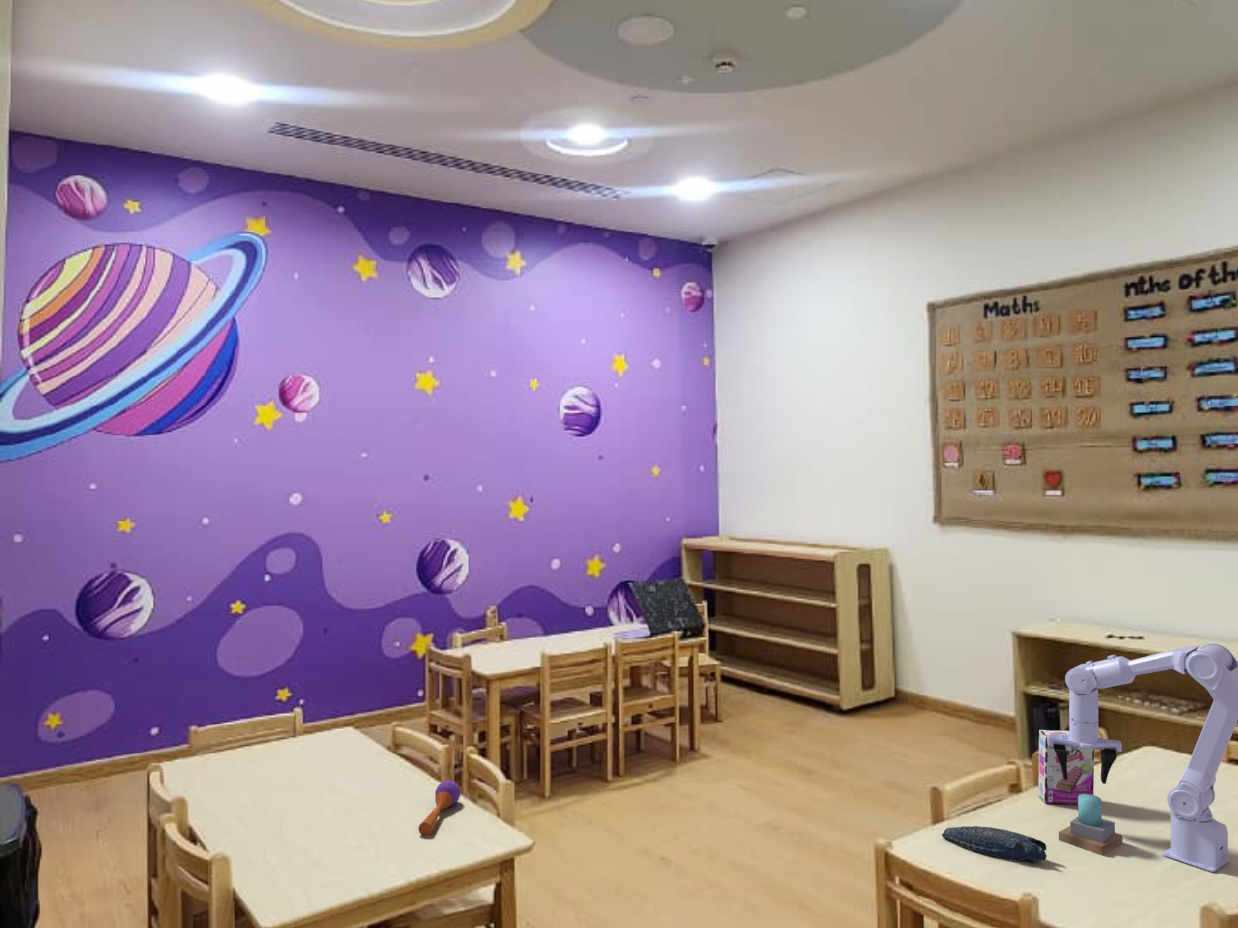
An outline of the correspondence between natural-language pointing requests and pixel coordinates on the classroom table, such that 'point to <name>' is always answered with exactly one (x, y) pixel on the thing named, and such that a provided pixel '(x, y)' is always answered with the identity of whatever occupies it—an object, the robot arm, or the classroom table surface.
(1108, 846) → the walnut base slab
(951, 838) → the fish model
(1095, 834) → the purplish gray square slab
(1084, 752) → the candy bar box
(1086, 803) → the teal cylinder
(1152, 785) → the classroom table surface
